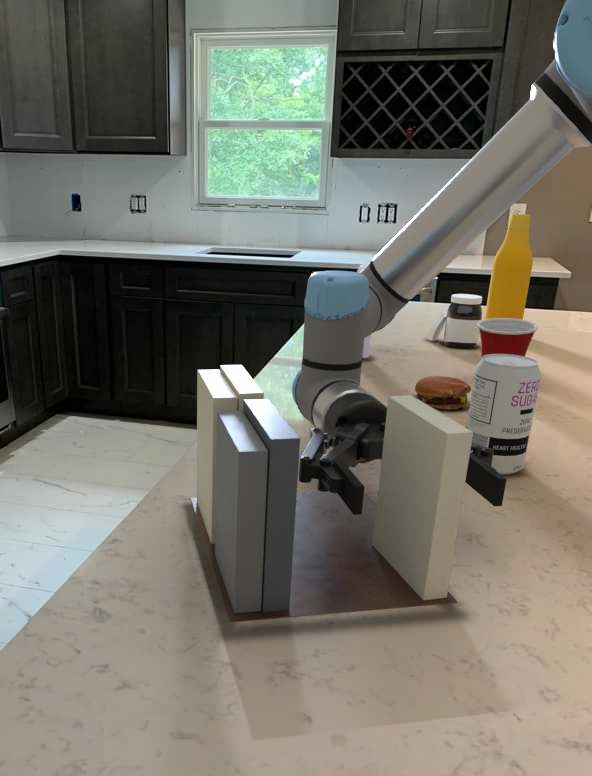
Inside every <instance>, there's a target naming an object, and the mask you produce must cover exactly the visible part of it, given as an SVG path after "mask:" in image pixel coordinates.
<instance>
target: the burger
mask: <svg viewBox="0 0 592 776" xmlns="http://www.w3.org/2000/svg"><path fill="white" fill-rule="evenodd" d="M414 392H415V393H416V395H415V398H416V399H418V400H420V401H422V402H423V403H425V404H427V405H428V406H430V407H432V408H433V409H435V410H448V411H449V410H453V411H457V410H459V409H460V408H461V409H462V410H466V409H469V407H470V403H469V401H468V394H469V393H471V392H472V387H471V385H470V384H469V383H468V382H467V381H464V380H462V379H459V378H456V377H452V376H443V375H430V376H424V377H422V378H420V379H419V380H418V381H417V382H416V384H415V386H414Z"/></svg>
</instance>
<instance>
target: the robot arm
mask: <svg viewBox="0 0 592 776" xmlns="http://www.w3.org/2000/svg"><path fill="white" fill-rule="evenodd" d="M553 34H554V35H553V36H554V37H553V41H552V42H553V43H552V46H553V57H554V59H553V60H552V61H551V63H550V64H549V65H548V67H546V69H545V70H544V72H542V73H541V74H540V75H539V76H538V78H536V79H535V80H534V82H533V83H531V90H530V96H529V99H528V100H527V102H525V104H523V106H522V107H520V109H519V110H518V111H517V112H516V113H515V114H513V116H512V117H511V118H510V119H509V120H508V121H507V122H506V123H505V124H504V125H503V126H502V127H501V128H500V129H499V130H498V131H497V132H496V133H495V134H494V135H493V136H492V137H491V138H490V139H489V140H488V141H487V142H486V143H485V144H484V145H483V147H481V149H479V151H477V153H475V154H474V156H472V158H470V160H469V161H468V162H466V163H465V164H464V165H463V166H462V167H461V169H460V170H459V171H458V172H456V174H455V175H454V176H453V177H452V178H451V179H449V181H448V182H447V183H446V184H445V185H444V186H443V187H441V189H440V190H439V191H438V192H437V193H436V194H435V195H434V196H433V197H432V198H431V199H430V200H429V201H428V202H427V203H426V204H425V205H424V207H422V208H421V209H420V210H419V211H418V213H416V214H415V215H414V216H413V217H412V219H410V221H409V222H408V223H406V224H405V226H403V228H401V230H399V232H397V234H396V235H394V237H392V239H391V240H390V241H389V242H388V243H387V244H386V245H385V246H384V247H383V248H382V249H381V250H380V251H379V252H378V253H377V254H376V255H375V256H374V257H373V258H372V259H371V260H370V261H369V263H366V264H367V265H366V266H365V267H364V268H363V269H362V270H361V271H360V272H359V273H357V271H348V270H324V271H323V270H321V271H315V272H313V273H311V275H310V276H309V278H308V279H307V284H306V293H305V298H304V300H303V308H304V318H303V319H304V320H303V321H304V322H303V340H302V341H303V343H302V357H301V365H300V369H299V371H298V372H297V374H296V375H295V377H294V379H293V382H292V386H291V394H292V398H293V401H294V403H295V405H296V407H297V409H298V410H299V413H300V414H301V416H302V417H303V418H305V420H307V421H309V423H310V424H311V425H312V426H313V427H311V428H310V430H309V431H310V433H309V441H308V443H307V444H306V446H305V448H304V450H303V451H302V454H301V455H300V456H299V467H298V482H300V483H302V484H309V483H311V482H312V480H317V491H322V492H327V491H329V492H331V493H337V494H338V495H339V496H340V498H341V499H342V500H343V502H344V503H345V504H346V505H347V507H348V508H349V509H350V511H351V512H352V513H353V515H359V514H362V507H363V497H364V494H365V485H364V484H363V483H362V482H361V481H360V479H359V478H358V477H357V476H356V475H355V474H354V473H353V472H352V470H351V469H350V468H351V467H352V468H355V467H357V466H358V465H359V464H366V463H370V462H373V461H375V460H376V461H377V460H380V461H382V452H383V443H384V434H385V424H386V415H387V405H385V404H384V403H383V402H382V401H380V400H379V399H377V398H376V397H375V396H374V395H373V394H372V393H370V392H369V391H368V390H367V389H365V388H364V387H363V386H361V374H362V366H363V358H362V357H363V346H364V338H366V337H367V336H369V335H371V336H372V334H374V333H376V332H378V331H379V332H380V331H381V330H382V329H384V328H385V327H386V326H388V325H389V324H390V323H392V321H393V320H394V319H395V317H396V315H397V314H398V313H399V312H400V311H401V310H402V309H404V308H405V306H406V305H408V303H409V302H410V301H411V300H413V298H414V297H415V296H417V294H419V293H420V292H421V291H422V290H423V289H424V288H425V287H426V286H427V285H428V284H430V283H431V282H432V281H433V280H434V279H435V278H436V277H437V276H438V275H439V274H441V272H442V271H444V269H446V268H447V267H448V266H449V265H450V264H451V263H452V262H454V261H455V259H457V257H459V256H460V255H461V254H462V253H463V252H464V251H465V250H466V249H467V248H468V247H469V246H470V245H472V244H473V243H474V241H476V240H477V239H478V238H479V237H481V235H482V234H483V233H485V231H487V229H488V228H490V227H491V226H493V224H494V223H495V222H496V221H497V220H498V219H499V218H501V216H502V215H504V214H505V213H506V212H507V211H508V210H510V208H511V207H512V206H514V204H516V203H517V201H519V200H520V199H521V198H522V197H523V196H524V195H525V194H526V193H528V192H529V191H530V189H532V188H533V187H534V186H535V185H537V183H538V182H539V181H540V180H541V179H542V178H543V177H544V176H546V175H547V174H548V173H549V172H550V171H551V170H552V169H553V168H554V167H555V166H556V165H557V164H559V163H560V162H561V161H562V160H563V159H564V158H565V157H566V156H567V155H568V154H569V153H570V152H571V151H572V150H573V149H575V148H584V147H585V148H587V147H590V146H591V145H592V0H566V1H565V3H564V5H563V7H562V8H561V11H560V14H559V17H558V19H557V22H556V26H555V30H554V33H553ZM330 448H332V449H331V450H329V449H330ZM327 450H329V451H328V452H327ZM493 453H494V450H493V449H491V448H488V447H485V446H482V445H479V444H476V443H473V442H472V443H471V449H470V455H469V462H468V468H467V474H466V480H465V484H467V486H469V487H470V488H471V489H473V490H474V491H475V492H476V493H478V494H479V495H480V496H481V497H482V498H484V499H485V500H486V501H487V502H488V503H489V504H490V505H492V506H493V507H502V506H503V502H504V497H505V491H506V485H507V481H508V479H507V478H506V477H505V476H504V475H501V474H499V473H498V472H496V469H494V468H493V467H492V466H491V465H492V459H493Z"/></svg>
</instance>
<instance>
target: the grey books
mask: <svg viewBox="0 0 592 776" xmlns="http://www.w3.org/2000/svg"><path fill="white" fill-rule="evenodd" d="M300 445H301V438H300V436H299V435H298V434H297V432H296V431H295V430H294V429H293V427H292V426H291V425H290V424H289V422H288V420H286V419H285V417H284V416H283V415H282V413H280V411H279V410H278V408H276V406H275V405H274V404H273V402H272V401H271V400H270V399H269V398H264V399H249V400H244V402H243V411H222V412H217V446H216V511H215V557H216V560H217V563H218V566H219V569H220V572H221V575H222V578H223V581H224V584H225V587H226V590H227V593H228V596H229V599H230V602H231V605H232V608H233V611H234V613H245V612H257V611H261V609H262V611H263V612H273V611H285V610H289V609H290V593H291V577H292V561H293V545H294V529H295V513H296V497H297V492H298V482H299V466H300V447H301V446H300Z"/></svg>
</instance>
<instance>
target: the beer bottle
mask: <svg viewBox="0 0 592 776" xmlns="http://www.w3.org/2000/svg"><path fill="white" fill-rule="evenodd" d="M530 227H531V214H525V213H512V214H511V216H510V219H509V223H508V227H507V231H506V234H505V237H504V240H503V242H502V244H501V246H500V247H499V249H498V250H497V252H496V254H495V256H494V258H493V263H492V269H491V275H490V282H489V288H488V295H487V301H486V309H485V314H484V319H483V320H486V319H494V318H511V319H521V320H524V315H525V310H526V303H527V297H528V292H529V286H530V280H531V277H532V276H531V275H532V270H533V265H534V264H533V263H534V261H533V252H532V249H531V246H530Z"/></svg>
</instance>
